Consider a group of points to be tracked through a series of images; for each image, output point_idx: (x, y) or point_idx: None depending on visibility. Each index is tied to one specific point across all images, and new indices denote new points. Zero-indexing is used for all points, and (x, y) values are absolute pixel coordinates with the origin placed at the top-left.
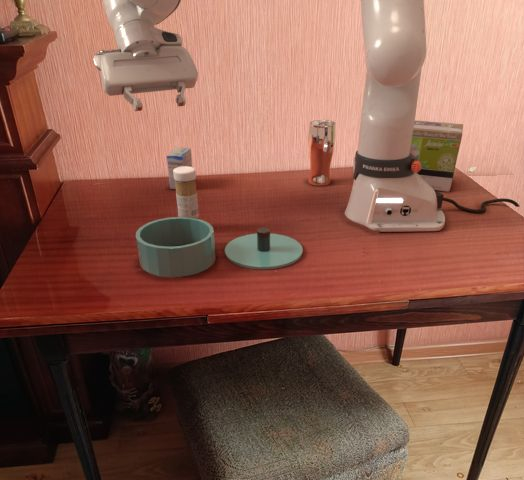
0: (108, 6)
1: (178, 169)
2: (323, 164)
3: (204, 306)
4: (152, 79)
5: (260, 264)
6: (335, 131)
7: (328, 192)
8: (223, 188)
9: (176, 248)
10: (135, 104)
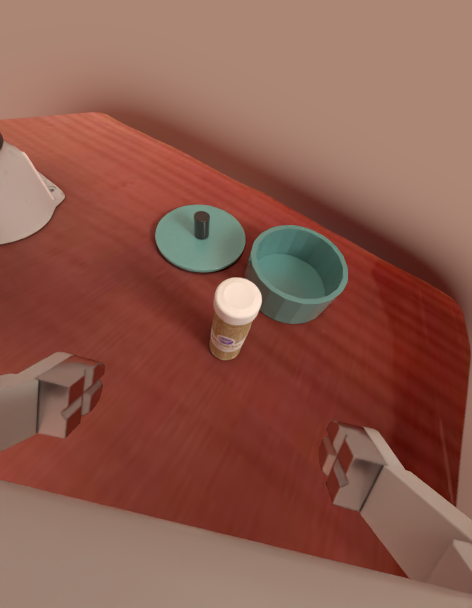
0: None
1: (249, 302)
2: None
3: (304, 218)
4: (218, 556)
5: (229, 218)
6: None
7: None
8: None
9: (316, 232)
10: (379, 433)
